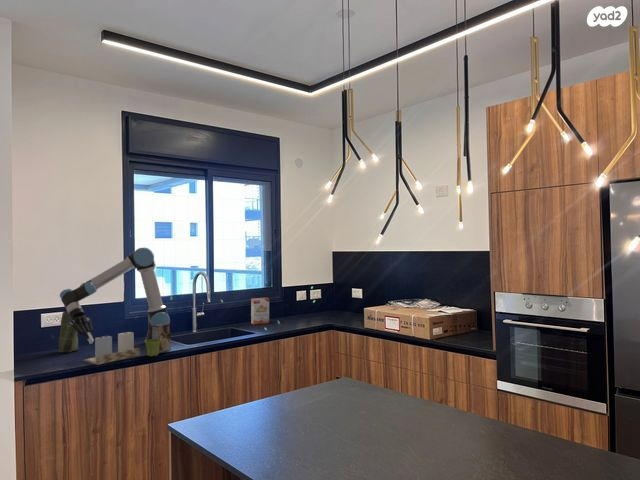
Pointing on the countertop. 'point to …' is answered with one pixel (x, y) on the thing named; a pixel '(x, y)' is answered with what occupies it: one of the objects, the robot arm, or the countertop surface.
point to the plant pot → (152, 346)
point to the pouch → (67, 335)
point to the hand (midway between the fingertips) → (92, 342)
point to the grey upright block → (103, 346)
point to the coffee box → (162, 336)
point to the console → (114, 356)
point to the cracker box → (259, 310)
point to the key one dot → (125, 341)
